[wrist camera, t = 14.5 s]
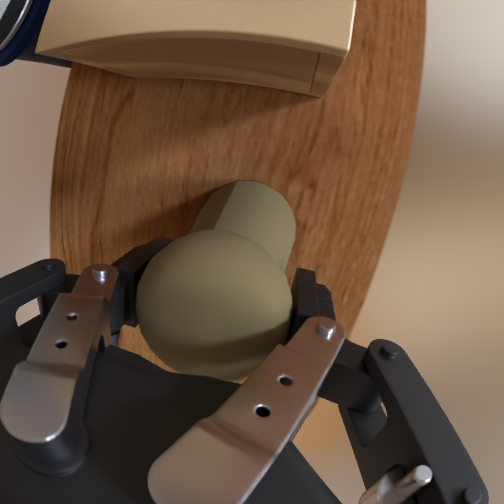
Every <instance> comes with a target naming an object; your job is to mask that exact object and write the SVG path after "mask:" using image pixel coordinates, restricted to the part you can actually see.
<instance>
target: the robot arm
mask: <svg viewBox="0 0 504 504" xmlns="http://www.w3.org/2000/svg"><path fill="white" fill-rule="evenodd" d="M33 2H34V0H0V52H1V51H3V50H4V49H5V48H6V47H7V46H8V45H9V44H10V42H11V41H12V40H13V39H14V37H15V36H16V35H17V33H18V32H19V30H20V28H21V27H22V25H23V23H24V22H25V20H26V18H27V16H28V14H29V12H30V10H31V7H32V5H33ZM172 241H173V240H171V239H167V238H162V237H156V238H154V239H153V240H152V241H150V242H149V243H148V244H146V245H145V244H144V245H141V246H137V247H134V248H133V249H132V250H130V251H129V252H128V253H126V254H125V255H123V257H121V258H119V259H118V260H117V261H115V262H114V263H113V264H111V265H107V264H95V265H91V266H88V267H86V268H85V269H84V270H83V271H82V273H81V275H74V274H66V271H65V264H64V262H63V261H61V260H58V259H44V260H41V261H38V262H36V263H33V264H31V265H29V266H26V267H24V268H22V269H20V270H17V271H15V272H13V273H11V274H8V275H6V276H4V277H2V278H0V504H342V503H341V502H340V501H339V500H338V498H337V497H336V496H335V495H334V494H333V493H332V492H331V490H330V489H329V488H328V487H327V485H326V484H325V483H324V482H323V480H322V479H321V478H320V477H319V476H318V474H317V473H316V472H315V471H314V469H313V468H312V467H311V466H310V464H309V463H308V462H307V461H306V459H305V458H304V457H303V455H302V454H301V453H300V452H299V450H298V449H297V448H296V446H295V445H294V444H293V442H292V440H293V439H294V438H295V436H296V434H297V432H298V431H299V429H300V427H301V425H302V424H303V422H304V420H305V419H306V417H307V415H308V413H309V412H310V410H311V408H312V406H313V405H314V403H315V401H316V399H317V397H318V396H319V397H321V398H324V399H326V400H329V401H331V402H334V403H337V404H338V406H339V411H340V414H341V417H342V419H343V423H344V425H345V428H346V431H347V434H348V437H349V440H350V443H351V446H352V449H353V452H354V454H355V458H356V460H357V463H358V467H359V470H360V473H361V476H362V479H363V482H364V485H365V488H366V491H365V492H364V493H363V494H362V496H361V497H360V500H359V504H488V502H489V496H488V491H487V489H486V486H485V484H484V482H483V481H482V479H481V477H480V475H479V473H478V471H477V469H476V467H475V465H474V464H473V462H472V460H471V458H470V456H469V454H468V452H467V451H466V449H465V447H464V445H463V443H462V442H461V440H460V438H459V437H458V435H457V433H456V431H455V430H454V428H453V426H452V424H451V423H450V421H449V419H448V418H447V416H446V414H445V413H444V411H443V410H442V408H441V406H440V405H439V403H438V401H437V400H436V398H435V397H434V395H433V393H432V392H431V390H430V389H429V387H428V386H427V384H426V383H425V381H424V379H423V378H422V376H421V375H420V373H419V372H418V370H417V369H416V367H415V366H414V364H413V363H412V361H411V360H410V358H409V357H408V355H407V354H406V352H405V351H404V350H403V349H402V348H401V347H400V346H399V345H397V344H395V343H394V342H391V341H388V340H384V339H376V340H373V341H372V342H371V343H370V344H369V346H368V348H365V347H363V346H360V345H357V344H355V343H353V342H351V341H349V340H347V339H346V338H345V337H346V330H345V329H344V327H343V326H342V325H341V324H340V323H338V322H337V321H336V319H335V313H334V308H333V303H332V298H331V293H330V291H329V290H328V289H327V288H326V286H325V285H322V284H317V283H316V278H315V272H314V271H311V270H306V269H302V268H297V269H296V273H295V276H294V280H293V284H292V288H291V295H292V301H293V311H292V324H291V329H290V332H289V334H288V337H287V339H286V341H285V343H284V345H281V344H279V345H277V346H276V347H275V348H274V350H273V351H272V352H271V353H270V354H269V355H268V356H267V357H266V359H265V360H264V361H263V362H262V363H261V364H260V365H259V366H258V367H257V369H256V370H255V371H254V372H253V373H252V374H251V375H250V376H249V377H248V378H247V379H246V380H245V382H244V383H243V384H238V383H233V382H229V381H225V380H221V379H217V378H213V377H209V376H200V375H189V374H179V373H171V372H168V371H166V370H164V369H162V368H160V367H158V366H157V365H155V364H153V363H151V362H150V361H148V360H146V359H145V358H143V357H141V356H140V355H138V354H135V353H132V352H129V351H126V350H124V349H121V348H120V345H121V339H122V326H123V325H124V324H125V325H128V326H131V327H134V328H135V327H136V326H137V325H138V324H139V322H138V318H137V313H136V307H135V303H136V295H137V287H138V284H139V281H140V279H141V276H142V274H143V273H144V271H145V269H146V267H147V265H148V264H149V262H150V260H151V258H153V257H154V256H155V255H156V254H157V253H158V252H159V251H161V250H162V249H163V248H164V247H166V246H167V245H168V244H169V243H171V242H172ZM35 298H37V300H38V305H39V310H40V314H39V315H38V316H36V317H34V318H33V319H31V320H29V321H27V322H26V323H24V324H22V325H21V326H19V327H18V325H17V322H16V318H15V315H16V311H17V309H18V308H19V307H20V306H22V305H24V304H26V303H27V302H29V301H31V300H33V299H35ZM382 402H383V404H384V406H385V408H386V411H387V417H386V415H385V413H384V411H383V409H382V407H381V403H382Z"/></svg>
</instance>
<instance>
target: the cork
mask: <svg viewBox="0 0 504 504" xmlns="http://www.w3.org/2000/svg"><path fill="white" fill-rule="evenodd" d="M295 229H296V222H295V219H294V216H293V213H292V209H291V207H290V206H289V205H288V203H287V202H286V200H285V199H284V197H283V196H282V195H281V194H279V193H278V192H277V191H275V190H274V189H273V188H271V187H270V186H268V185H265V184H262V183H259V182H255V181H236V182H233V183H230V184H227V185H224V186H222V187H221V188H219V189H218V190H217V191H215V192H214V193H213V194H212V195H211V196H210V197H209V198H208V200H207V201H206V203H205V204H204V206H203V207H202V209H201V211H200V213H199V215H198V217H197V219H196V221H195V223H194V225H193V227H192V229H191V231H190V233H189V234H188V235H185V236H182V237H179V238H176V239H174V240H173V241H172V242H171V243H169V244H168V245H167V246H166V247H164V248H163V249H162V250H161V251H159V252H158V253H157V254H156V255H155V256H154V257H153V258H151V260H150V262H149V264H148V265H147V267H146V269H145V271H144V273H143V274H142V276H141V279H140V281H139V284H138V287H137V295H136V303H135V307H136V313H137V318H138V322H139V326H140V331H141V334H142V335H143V337H144V339H145V341H146V342H147V344H148V346H149V347H150V349H151V350H152V351H153V352H154V353H155V354H156V355H157V356H158V357H159V358H160V359H161V360H162V361H163V362H164V363H165V364H166V365H168V366H169V367H171V368H173V369H174V370H176V371H177V372H179V373H181V374H189V375H200V376H209V377H213V378H217V379H221V380H225V381H229V382H232V381H239V380H242V379H244V378H247V377H249V376H250V375H251V374H252V373H253V372H254V371H255V370H256V369H257V367H258V366H259V365H260V364H261V363H262V362H263V361H264V360H265V359H266V357H267V356H268V355H269V354H270V353H271V352H272V351H273V350H274V348H275V347H276V346H277V345H279V344H281V345H284V343H285V341H286V339H287V337H288V334H289V332H290V329H291V324H292V311H293V301H292V295H291V291H290V288H289V285H288V282H287V278H286V275H285V274H284V271H285V268H286V265H287V262H288V259H289V256H290V253H291V249H292V246H293V243H294V240H295Z"/></svg>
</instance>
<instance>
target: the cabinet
mask: <svg viewBox="0 0 504 504" xmlns="http://www.w3.org/2000/svg"><path fill="white" fill-rule="evenodd" d="M355 7H356V0H51V2H50V4H49V7H48V10H47V13H46V16H45V19H44V22H43V25H42V28H41V32H40V35H39V39H38V42H37V46H36V50H35V53H36V54H41V55H47V56H50V57H55V58H60V59H65V60H69V61H73V62H78V63H82V64H86V65H90V66H93V67H97V68H101V69H105V70H108V71H112V72H115V73H118V74H122V75H125V76H129V77H132V78H178V79H197V80H211V81H222V82H232V83H240V84H248V85H255V86H262V87H269V88H275V89H281V90H286V91H292V92H297V93H302V94H306V95H311V96H316V97H320V98H323V96H324V95H325V93H326V91H327V90H328V88H329V86H330V84H331V83H332V81H333V79H334V77H335V75H336V74H337V72H338V70H339V68H340V67H341V65H342V63H343V62H344V60H345V58H346V55H347V54H348V52H349V50H350V44H351V37H352V30H353V23H354V15H355Z"/></svg>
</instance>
